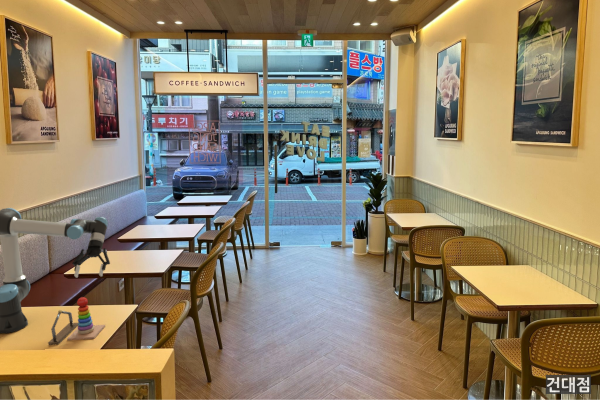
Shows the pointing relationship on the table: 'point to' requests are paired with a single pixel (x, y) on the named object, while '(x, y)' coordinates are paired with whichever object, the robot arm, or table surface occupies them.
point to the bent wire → (65, 331)
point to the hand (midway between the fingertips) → (88, 276)
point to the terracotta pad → (91, 335)
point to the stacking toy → (84, 317)
